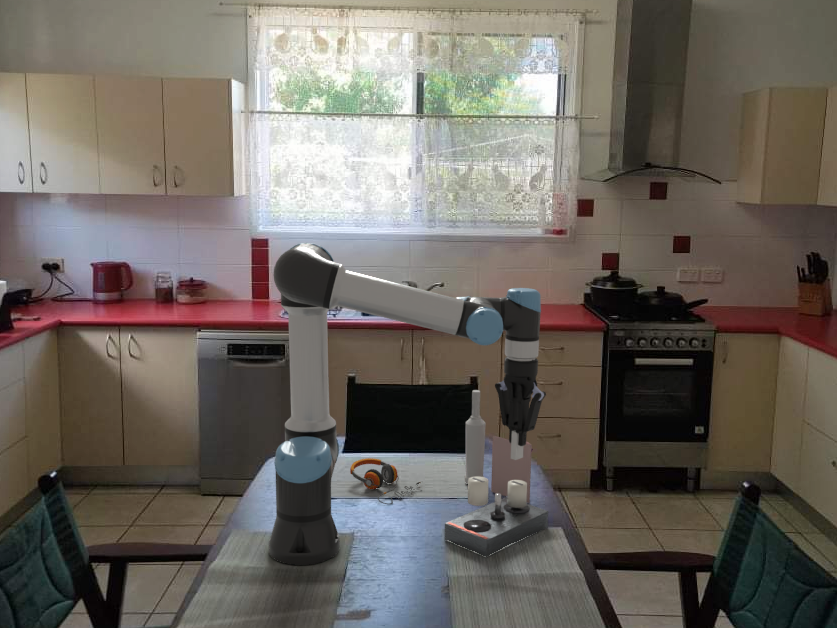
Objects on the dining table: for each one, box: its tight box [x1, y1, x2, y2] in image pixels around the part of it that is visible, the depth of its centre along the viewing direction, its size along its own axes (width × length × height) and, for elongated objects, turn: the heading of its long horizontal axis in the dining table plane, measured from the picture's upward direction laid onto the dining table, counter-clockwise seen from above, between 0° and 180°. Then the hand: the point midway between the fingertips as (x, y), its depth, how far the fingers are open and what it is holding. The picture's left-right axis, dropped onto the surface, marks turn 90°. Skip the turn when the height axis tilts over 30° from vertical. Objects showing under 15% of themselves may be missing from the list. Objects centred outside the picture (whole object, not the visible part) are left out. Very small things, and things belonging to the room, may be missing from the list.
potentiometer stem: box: [490, 493, 505, 520], centre depth 182 cm, size 3×3×5 cm
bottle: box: [464, 389, 486, 485], centre depth 212 cm, size 5×5×25 cm
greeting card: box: [490, 435, 533, 504], centre depth 205 cm, size 11×7×15 cm, turn 16°
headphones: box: [349, 457, 423, 505], centre depth 210 cm, size 17×5×20 cm
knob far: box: [506, 480, 527, 508], centre depth 187 cm, size 4×4×5 cm
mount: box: [444, 496, 549, 558], centre depth 183 cm, size 12×22×4 cm, turn 135°
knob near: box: [467, 476, 489, 507], centre depth 177 cm, size 4×4×5 cm
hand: (516, 457), depth 186 cm, fingers closed
